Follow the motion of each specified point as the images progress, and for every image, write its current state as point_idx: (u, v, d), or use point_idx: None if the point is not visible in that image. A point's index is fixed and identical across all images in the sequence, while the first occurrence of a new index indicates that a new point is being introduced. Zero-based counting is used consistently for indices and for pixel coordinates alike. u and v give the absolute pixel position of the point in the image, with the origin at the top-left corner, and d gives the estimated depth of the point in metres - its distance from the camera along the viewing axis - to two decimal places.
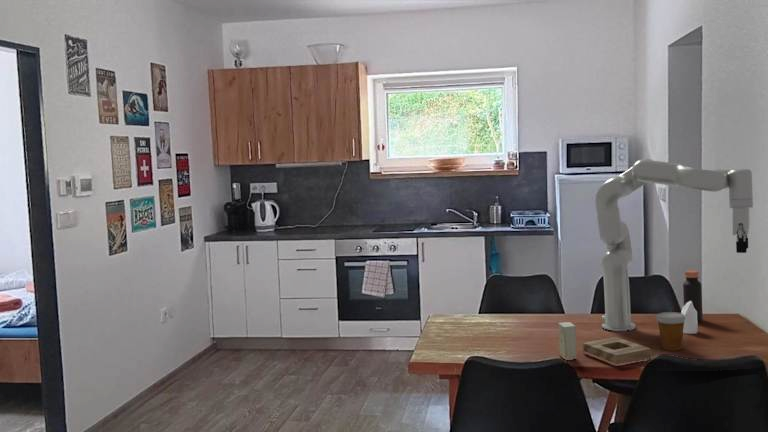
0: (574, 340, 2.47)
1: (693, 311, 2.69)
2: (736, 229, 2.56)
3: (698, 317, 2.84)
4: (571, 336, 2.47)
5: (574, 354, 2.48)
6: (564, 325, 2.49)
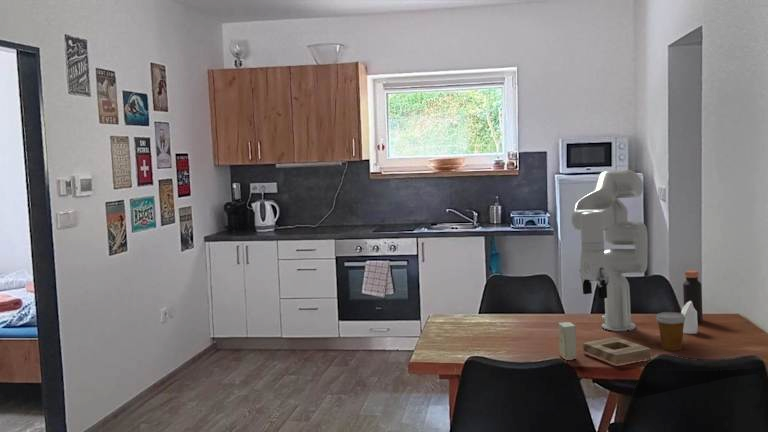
0: (574, 340, 2.47)
1: (693, 311, 2.69)
2: (598, 274, 2.45)
3: (698, 317, 2.84)
4: (571, 336, 2.47)
5: (574, 354, 2.48)
6: (564, 325, 2.49)
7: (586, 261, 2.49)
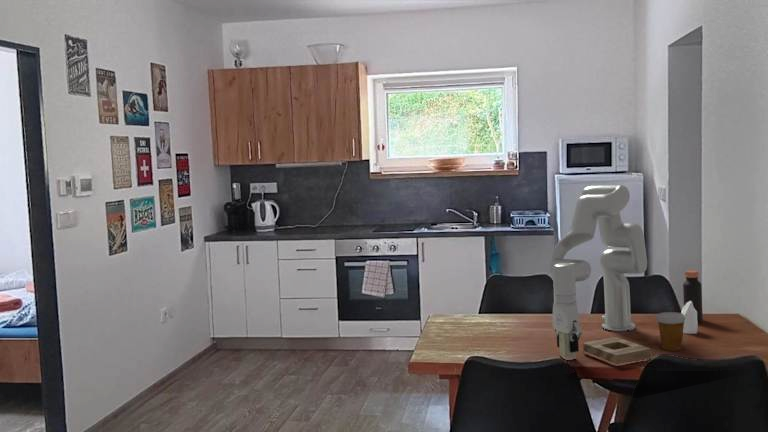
0: None
1: (693, 311, 2.69)
2: (571, 329, 2.45)
3: (698, 317, 2.84)
4: None
5: (574, 354, 2.48)
6: None
7: (559, 313, 2.48)
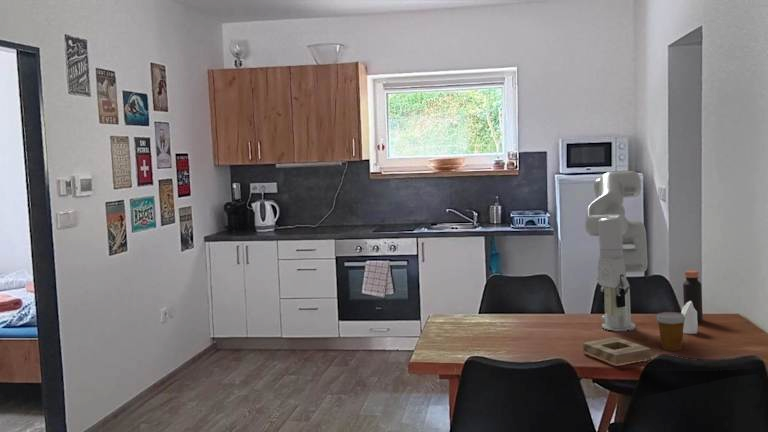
0: None
1: (693, 311, 2.69)
2: (618, 283, 2.41)
3: (698, 317, 2.84)
4: None
5: (620, 309, 2.44)
6: None
7: (605, 268, 2.44)
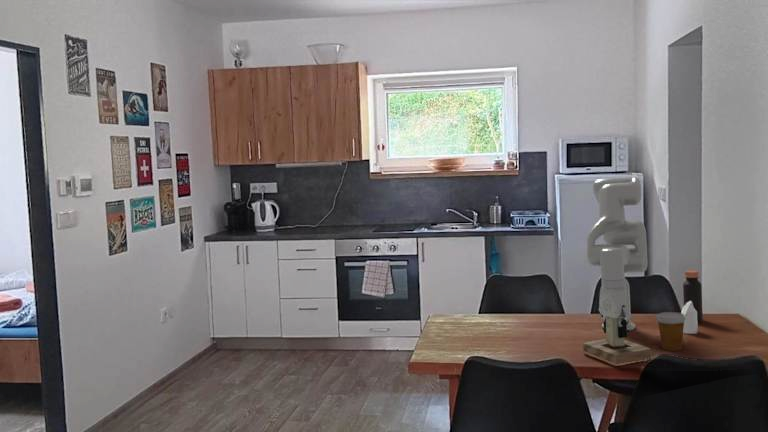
0: None
1: (693, 311, 2.69)
2: (620, 314, 2.41)
3: (698, 317, 2.84)
4: None
5: (622, 340, 2.44)
6: None
7: (607, 298, 2.45)
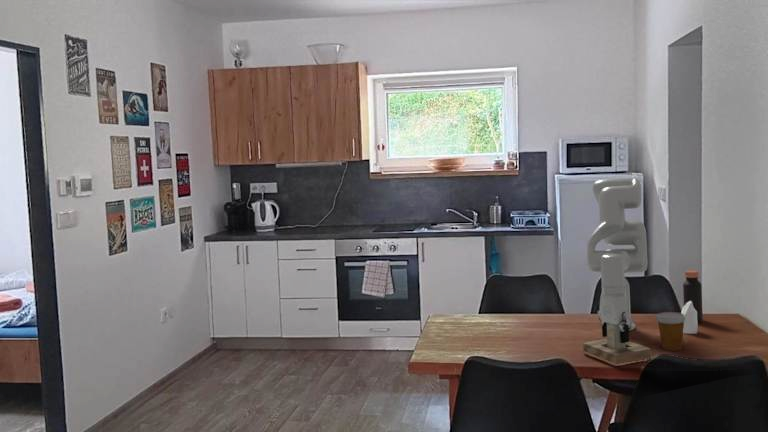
0: None
1: (693, 311, 2.69)
2: (620, 318, 2.41)
3: (698, 317, 2.84)
4: None
5: None
6: None
7: (607, 305, 2.45)
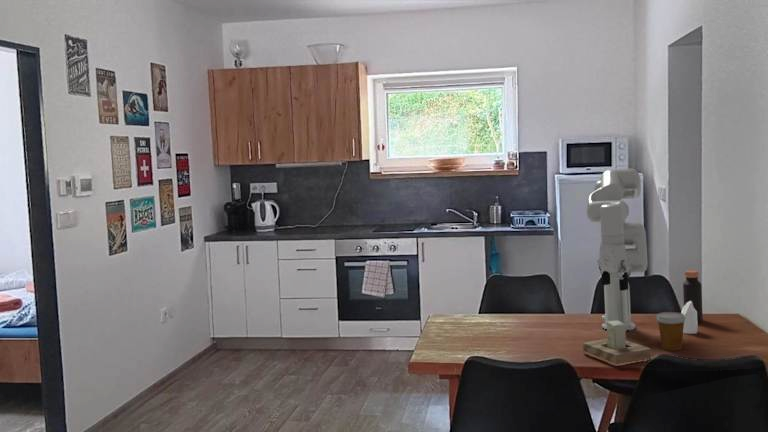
0: (624, 339, 2.44)
1: (693, 311, 2.69)
2: (620, 266, 2.46)
3: (698, 317, 2.84)
4: (621, 335, 2.44)
5: None
6: (614, 323, 2.46)
7: (607, 253, 2.50)
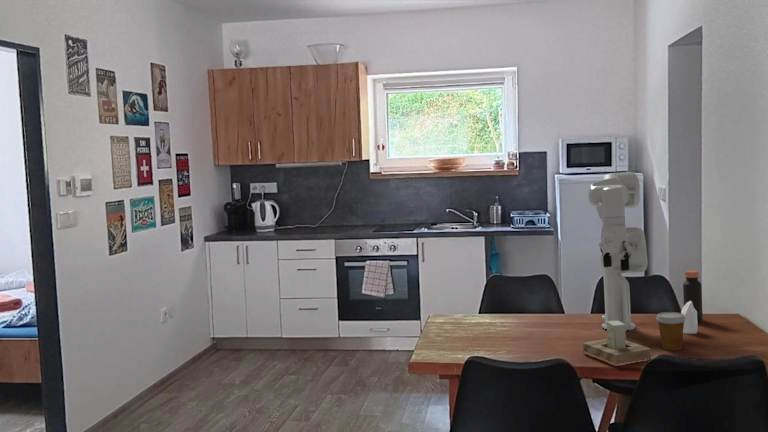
0: (624, 339, 2.44)
1: (693, 311, 2.69)
2: (621, 247, 2.53)
3: (698, 317, 2.84)
4: (621, 335, 2.44)
5: None
6: (614, 323, 2.46)
7: (608, 235, 2.57)
